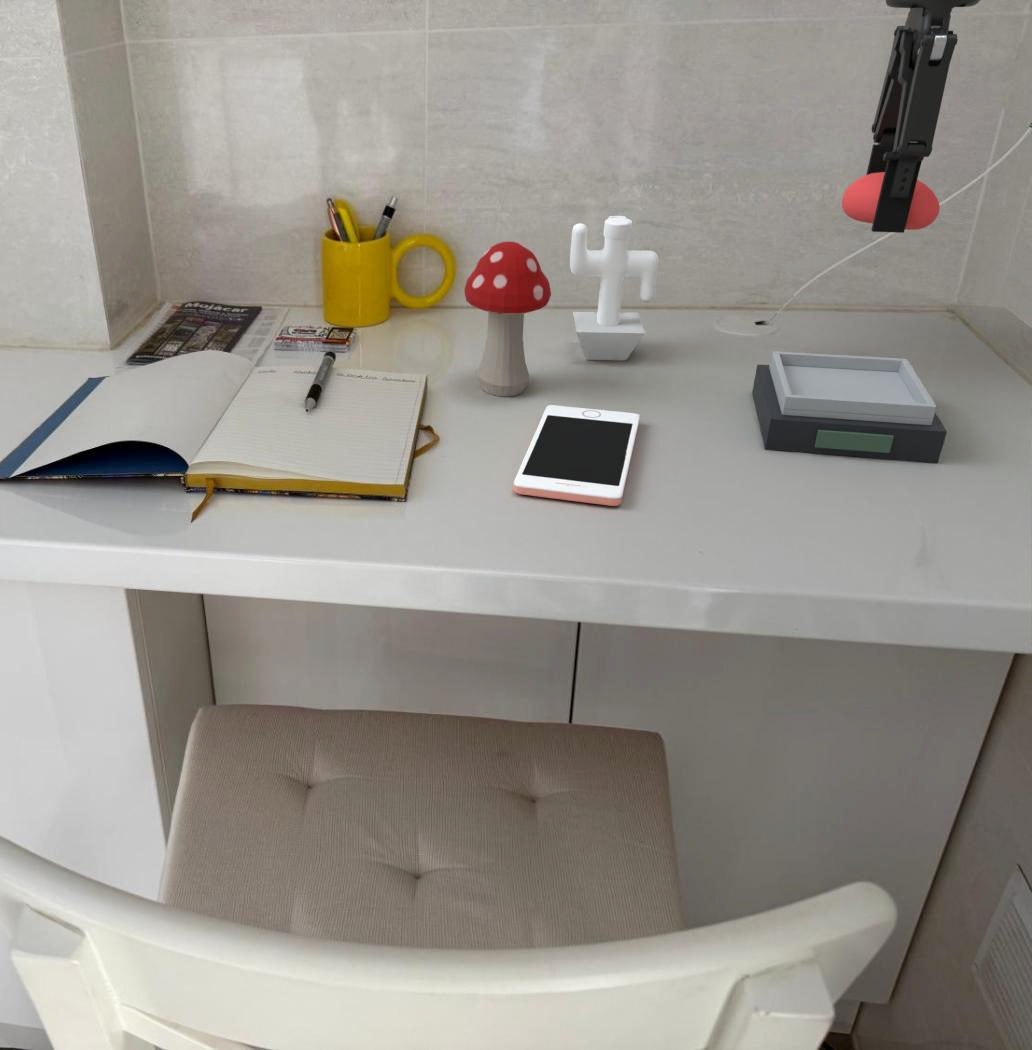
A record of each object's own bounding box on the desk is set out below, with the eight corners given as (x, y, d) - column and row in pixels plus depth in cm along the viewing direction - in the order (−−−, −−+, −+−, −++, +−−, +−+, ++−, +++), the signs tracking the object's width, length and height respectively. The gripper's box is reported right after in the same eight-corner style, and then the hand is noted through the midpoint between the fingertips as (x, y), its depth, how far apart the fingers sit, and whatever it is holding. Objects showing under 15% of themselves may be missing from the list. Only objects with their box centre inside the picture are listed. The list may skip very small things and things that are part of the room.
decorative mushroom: (554, 401, 101) (566, 253, 93) (470, 406, 100) (475, 257, 93) (532, 367, 109) (541, 229, 102) (454, 371, 109) (458, 233, 102)
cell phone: (639, 422, 95) (640, 413, 95) (620, 508, 80) (621, 497, 80) (546, 412, 98) (547, 403, 97) (511, 494, 83) (512, 484, 83)
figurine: (651, 365, 109) (669, 226, 101) (563, 363, 110) (575, 226, 103) (643, 343, 115) (660, 210, 107) (560, 342, 116) (571, 211, 109)
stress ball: (875, 250, 95) (928, 193, 91) (819, 199, 100) (866, 142, 96) (905, 261, 97) (957, 206, 94) (849, 210, 103) (896, 156, 99)
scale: (904, 402, 97) (916, 355, 95) (938, 464, 86) (953, 413, 83) (752, 392, 101) (760, 347, 99) (765, 450, 89) (774, 401, 87)
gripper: (876, -43, 96) (825, 199, 108) (918, -42, 79) (853, 245, 91) (962, -46, 94) (902, 201, 106) (1025, -46, 77) (945, 248, 89)
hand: (880, 221), depth 98 cm, fingers closed on stress ball, 8 cm apart
